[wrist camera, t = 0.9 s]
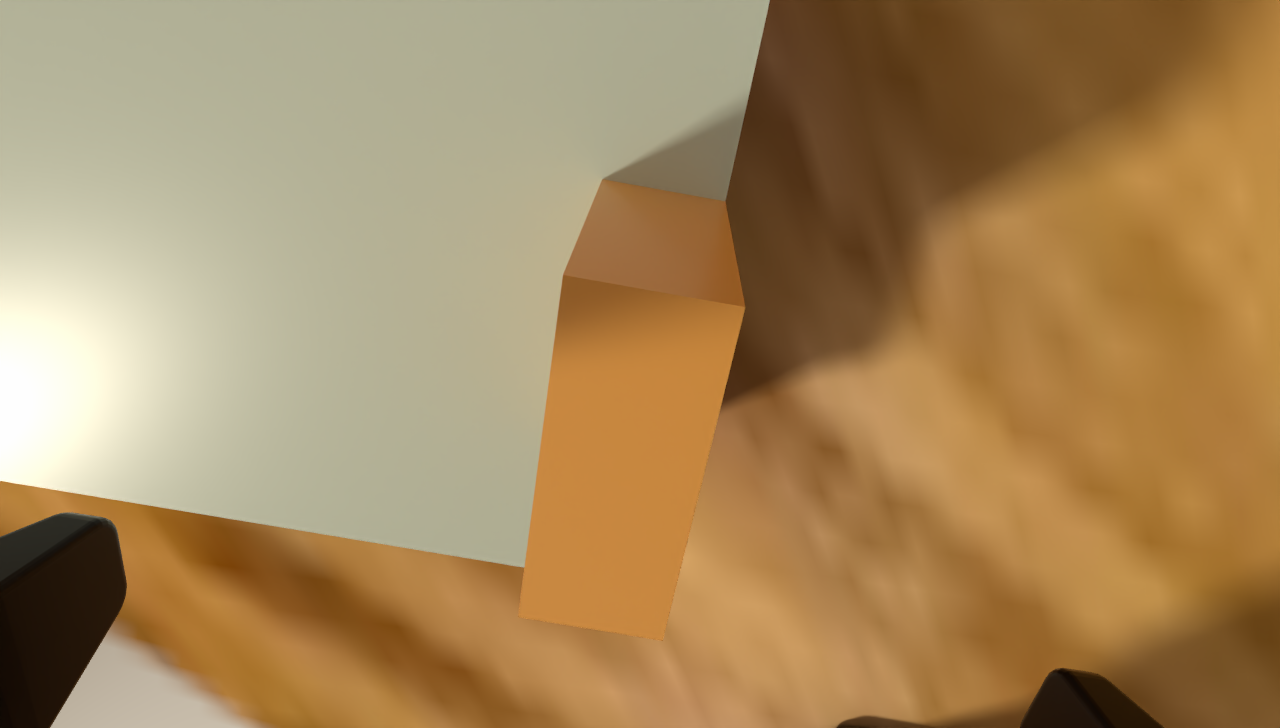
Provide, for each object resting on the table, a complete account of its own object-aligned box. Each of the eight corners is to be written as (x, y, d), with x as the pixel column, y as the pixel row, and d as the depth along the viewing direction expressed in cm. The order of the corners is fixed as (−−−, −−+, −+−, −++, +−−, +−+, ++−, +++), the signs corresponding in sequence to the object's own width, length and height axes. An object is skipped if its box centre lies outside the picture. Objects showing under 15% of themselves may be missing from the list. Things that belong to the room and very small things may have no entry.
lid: (762, -19, 13) (825, -18, 7) (643, 531, 18) (625, 789, 12) (-266, -214, 12) (-1089, -383, 6) (-85, 409, 17) (-460, 618, 12)
